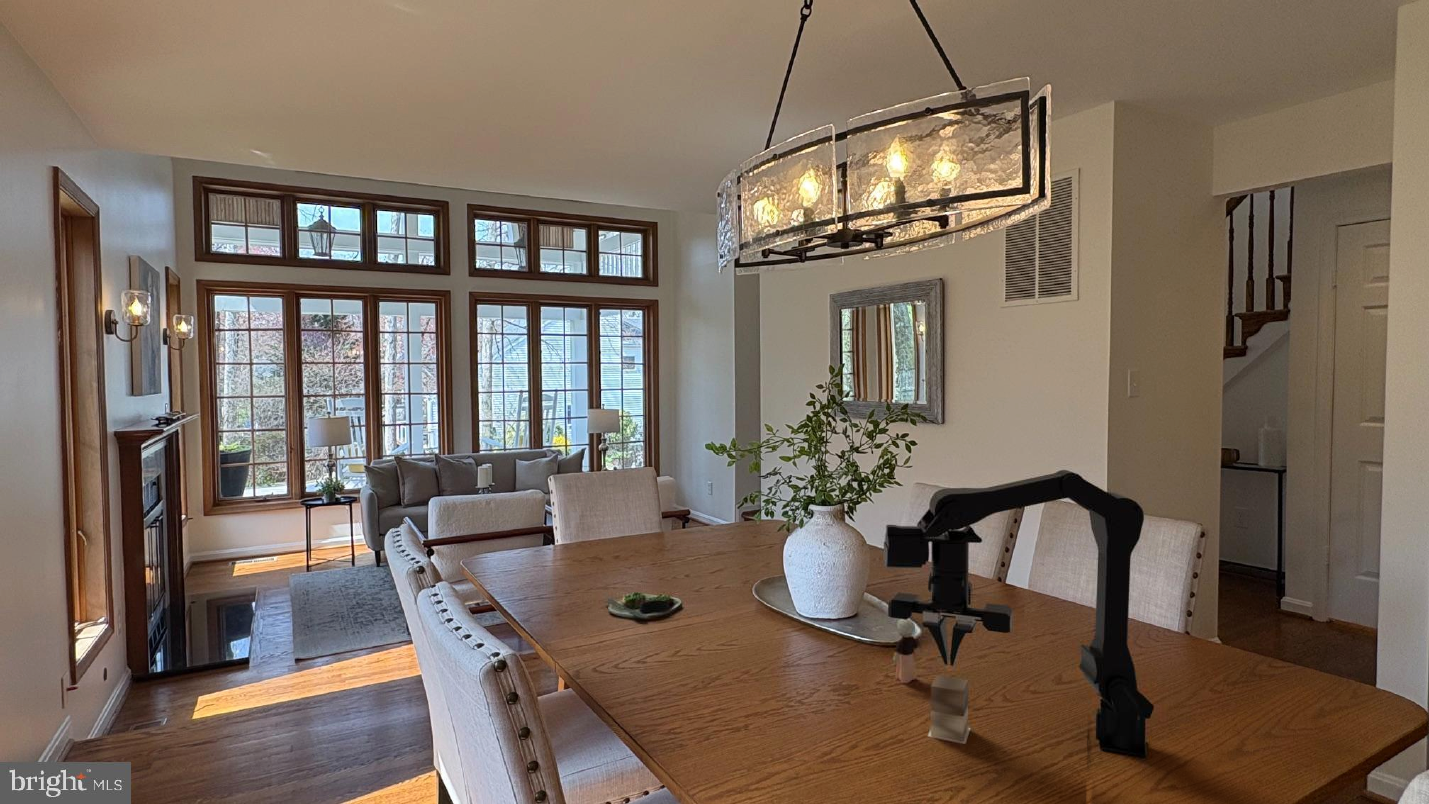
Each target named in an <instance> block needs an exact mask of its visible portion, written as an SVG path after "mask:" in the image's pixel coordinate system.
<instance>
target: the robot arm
mask: <svg viewBox="0 0 1429 804" xmlns="http://www.w3.org/2000/svg"><path fill="white" fill-rule="evenodd" d="M1064 499H1069V500H1070V501H1072V502H1073V503H1075V504H1077V505H1078V506H1080V507H1082V508H1083V509H1085V510H1087V511H1088V513H1089V520H1090V526H1091V531H1092V535H1093V538H1094V540H1095V544H1096V547H1097V550H1098V551H1097V571H1096V572H1097V573H1096V575H1097V576H1096V579H1097V580H1096V600H1095V601H1096V604H1095V605H1096V607H1095V633H1094V637H1093V639H1092V641H1091V643H1090V645H1086V644H1081V645H1080V654H1081V659H1080V664H1079V666H1078V668H1079V669H1080V670H1081V671H1082V673H1083V677H1084V679H1085V680H1086V682H1087V683H1088V684H1089V685H1090V686H1091V687H1092V688H1093V689H1094V690H1095V692H1096V694H1097V695H1098V697H1100V698H1099V699H1100V701H1099V702H1100V703H1099V706H1100V707H1098V708H1096V709H1095V740H1097V741H1098V746H1099V749H1100V750H1105V751H1109V752H1115V753H1121V754H1126V755H1131V756H1137V757H1140V758H1141V757H1142V758H1147V757H1148V752H1147V745H1146V729H1147V728H1146V727H1147V726H1146V723H1147V721H1146V720H1147V719H1148V720H1149V719H1150V718H1151V717H1152V714H1153V712H1154V709H1155V706H1154V704H1153V703H1151V701H1149V700H1148V699H1147V698H1146V697H1145V696H1144V695H1143V694H1142V693H1141V692H1140V691H1139V690H1138V681H1137V673H1136V667H1135V664H1134V662H1133V658H1132V655H1131V652H1130V649H1129V644H1128V638H1129V637H1128V632H1129V614H1130V613H1129V611H1130V610H1129V609H1130V587H1131V585H1130V582H1131V561H1132V560H1131V557H1132V553H1133V551H1134V549H1135V548H1136V546H1137V544H1138V542H1139V541H1140V538H1141V535H1142V534H1141V533H1142V529H1143V525H1144V520H1145V514H1144V509H1143V507H1141V506H1140V505H1139V504H1138V502H1137V501H1136V500H1133V499H1131V498H1129V497H1127V496H1124V495H1121V494H1118V493H1116V492H1112V491H1111V492H1110V491H1106V490H1104V489H1102V488H1100V487H1099V486H1097V485H1095V484H1094V483H1091V482H1090V481H1087V480H1086V479H1084V478H1083V477H1082V475H1080V474H1079V473H1076V472H1073V471H1070V470H1067V469H1061V470H1058V471H1056V472H1054V473H1050V474H1044V475H1040V476H1035V477H1030V478H1026V479H1021V480H1016V481H1012V482H1006V483H1002V484H998V485H992V486H988V487H978V488H977V487H953V488H952V487H951V488H950V487H949V488H941V489H939V490H937V491H935V492H934V493H933V494H932V497H931V498H930V500H929V504H928V505H929V508H928V509H927V511H926V512H925V513H924V514H923V516H921V518H920V520H919V521H918V522H917V523H916V526H914V525H912V526H911V525H910V526H909V525H897V524H886V526H885V534H884V535H885V536H884V541H883V559H884V560H883V561H884V566H885V568H889V569H890V568H897V569H898V568H899V569H922V567H923V566H926V564H927V563H928V562H929V559H931V560H930V562H931V566H930V567H931V569H930V570H931V571H930V572H929V576H928V584H927V585H928V586H927V587H928V588H927V589H928V591H929V592H930V593H931V595H930V596H931V597H930V599H931V600H930V602H926V601H920V597H919V594H914V593H913V594H912V593H904V592H897V593H896V594H895V595H894V596H893V597H892V598H890V600H889V601H888V604H887V605H888V606H887V607H888V608H887V612H888V613H887V617H889V618H891V619H898V620H901V619H905V620H907V619H910V617H912V616H913V614H919V615H922V616H923V621H922V623H921V626H922V627H924V628H927V630H928V631H929V633H930V634H931V636H932V638H933V639H934V642H935V643H936V646H937V648H938V651H939V653H940V656H941V658H942V661H943V664H944V665H949V659H950V666H952V667H953V666H954V665H955V663H956V659H957V657H958V654H959V650H960V647H961V644H962V643H963V639H964V637H965V635H966V634H973V633H974V631H975V628H976V627H977V624H978V622H982V626H983V627H984V628H985V629H986V630H987V631H989V632H996V633H1003V634H1008V633H1011V630H1012V626H1013V624H1014V611H1013V609H1012V608H1011V606H1010V605H1005V604H1004V605H1003V604H996V603H988V602H987V603H986V604H985V607H984V609H983V608H976V607H975V608H974V607H969V606H970V605H971V604H972V589H973V584H972V583H971V581H969V568H970V567H969V564H970V563H969V559H970V557H969V556H970V555H969V554H970V553H969V550H970V549H969V547H970V546H969V544H970V543H973V544H981V543H982V542H983V539H982V537H980V535H978V534H977V533H976V532H975V530H974V527H972V525H974V524H976V523H979V522H980V521H982V520H984V519H986V518H987V517H989V516H992V515H994V514H997V513H998V514H999V513H1002V512H1006V511H1007V512H1008V511H1011V510H1015V509H1021V508H1025V507H1030V506H1035V505H1039V504H1044V503H1050V502H1055V501H1059V500H1064ZM930 543H931V554H930ZM930 555H931V558H930ZM947 618H950V619H955V624H954V625H953V627H952V633H951V646H950V655H949V643H948V634H947V633H948V632H947Z"/></svg>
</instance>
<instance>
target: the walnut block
mask: <svg viewBox="0 0 1429 804" xmlns="http://www.w3.org/2000/svg"><path fill="white" fill-rule="evenodd" d="M930 685H931V686H930V712H931V711H935V712H941V713H946V714H951V715H957V716H962V717H964V714H965V712H966V709H967V706H968V707H969V680H968V679H963V678H956V677H951V676H943V675H939V674H938V675H936V676H935V678H934V680H933V682H932V683H931V684H930Z"/></svg>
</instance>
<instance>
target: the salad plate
mask: <svg viewBox="0 0 1429 804" xmlns="http://www.w3.org/2000/svg"><path fill="white" fill-rule="evenodd" d="M621 596H622V599H620V600H618V601H615V600H613V599H611V598H606V599H605V600H604V602H605V603H606V605H609V606H608V610H609V612H610V613H611V614H613V615H616V616H618V617H622V618H628V619H632V620H633V619H634V620H638V621H639V620H641V621H655V620H662V619H665V618H667V617H669V616H671V615H673V614H675V613H677V612H678V611H679V610H680V608H682V606H683V601H682V600H681V599H680V598H679V597H674V596H670V595H666V594H663V595H662V594H661V593H660V594H658V595H654V594H647V593H642V592H636V591H633V592H631V593H630V594H628V593H627V594H626V595H625V594H624V593H623V594H622V595H621Z"/></svg>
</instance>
